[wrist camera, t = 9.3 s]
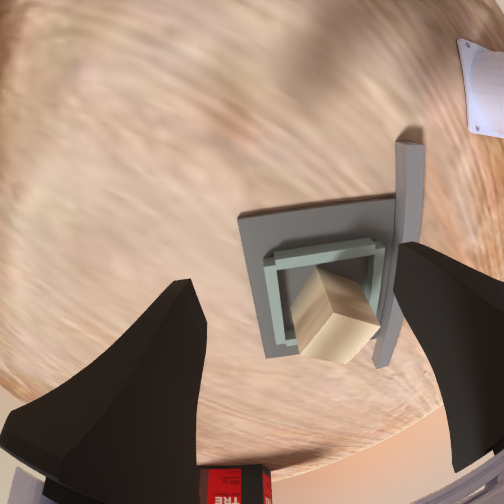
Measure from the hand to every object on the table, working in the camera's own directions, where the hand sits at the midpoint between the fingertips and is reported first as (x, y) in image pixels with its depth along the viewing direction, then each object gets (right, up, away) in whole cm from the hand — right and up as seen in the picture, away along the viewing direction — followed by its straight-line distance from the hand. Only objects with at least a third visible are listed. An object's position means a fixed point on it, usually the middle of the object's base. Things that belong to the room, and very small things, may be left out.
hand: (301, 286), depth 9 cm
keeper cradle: (+4, -2, +12) cm, 13 cm away
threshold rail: (+10, -1, +11) cm, 15 cm away
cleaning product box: (-6, -50, +39) cm, 64 cm away
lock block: (+4, -2, +12) cm, 12 cm away
